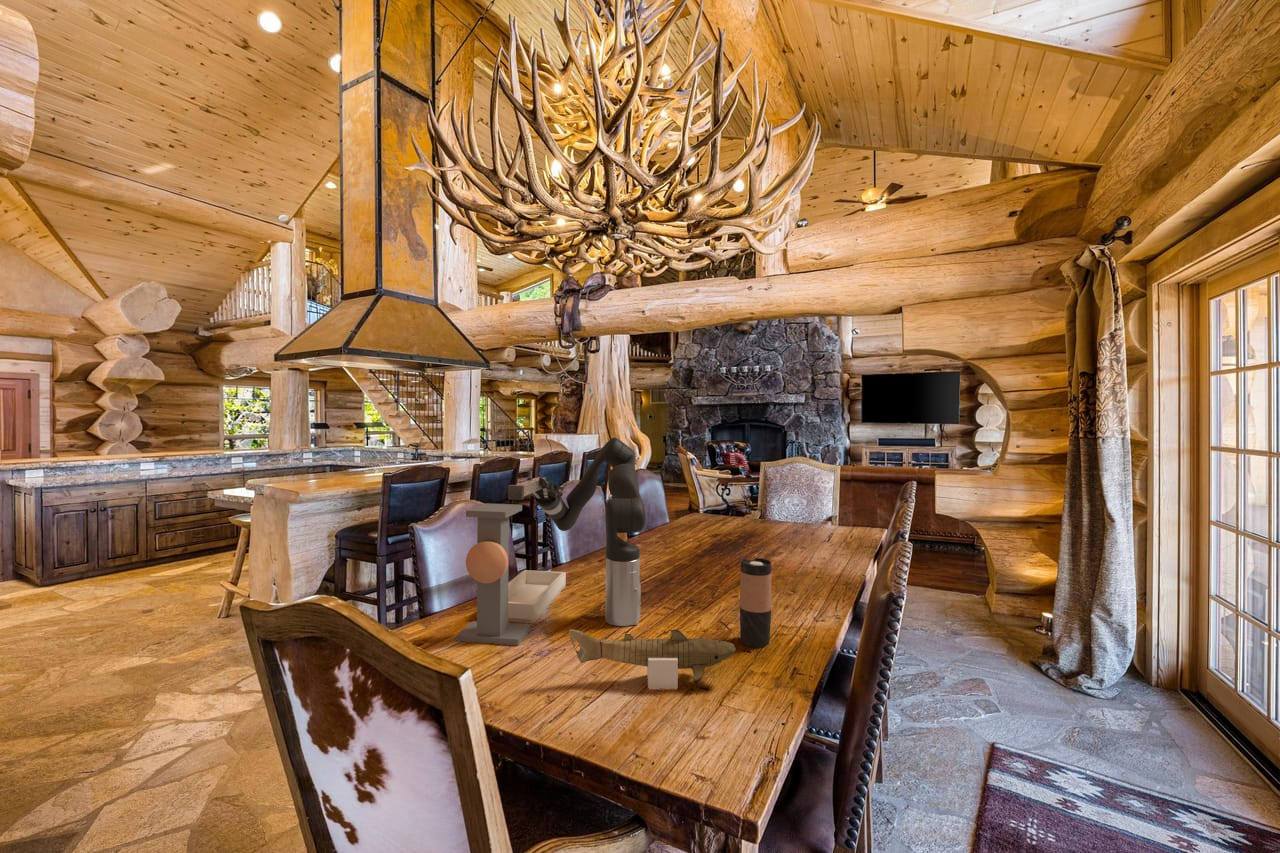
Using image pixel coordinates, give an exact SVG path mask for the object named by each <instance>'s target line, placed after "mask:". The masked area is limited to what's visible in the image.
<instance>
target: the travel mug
mask: <svg viewBox="0 0 1280 853" xmlns="http://www.w3.org/2000/svg"><path fill="white" fill-rule="evenodd" d="M739 578H740V580H739V582H740V584H739V585H740V586H739V589H740V591H739V624H740V625H739V627H740V628H739V632H740V633H739V636H740V637H739V640H740V642H741V644H743V645H745V646H747V647H750V648H756V647H760V648H765V646H766V647H768V646H769V645H770V642H771V640H770V639H771V625H772V624H771V620H772V562H771V561H770V560H768V559H766V558H761V557H756V558H754V559H748V558H746V557H745V558H742V559H741V560H740V577H739ZM767 645H768V646H767Z"/></svg>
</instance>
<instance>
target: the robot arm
mask: <svg viewBox="0 0 1280 853" xmlns="http://www.w3.org/2000/svg"><path fill="white" fill-rule="evenodd" d="M604 463H605V464H607V465H609V466H610V467H611V469H610V471H609V472H608V476H607V485H608V487H607V488H608V491H609V493H610V494H611V496H612V497H613V498H610V499H608V500H607V501H606V504H605V537H606V538H605V539H606V542H605V544H606V545H605V547H606V548H605V605H604V607H605V609H604V610H605V611H604V614H605V618H604V620H605V622H606V623H607V624H609V625H611V626H616V627H628V626H637V625H638V623H639V622H640V619H641V594H642V593H641V591H642V590H641V588H642V587H641V582H640V564H641V563H640V562H641V561H640V558H641V555H640V554H641V553H640V547H639V546H638V545H637V544H634V543H631V542H630V541H629V542H628V541H625V540H624V539H622V538H621V537H619V536H618V534H631V533H632V534H634V533H640V532H642V531H643V529H644V528H645V525H646V522H647V518H646V517H647V516H646V508H645V505H644V502H643V498H642V495H641V493H640V486H639V480H638V476H637V473H636V472H637V471H636V454H635V450H633V448H631V447H630V446H629V445H627V444H626V443H625V442H623V441H622V440H621V439H619V438H618V437H612V438H610V439H608V441H607V442H606V443H605V444H604V445H603V446H602V448H601V449H600V450H599V452H598V454H596V456H595V458H594V459H593V461H592V462H591V464H590V465H589V467H588V469H587V470H586V472H585V474H584V475H583V476H582V477H581V479H580V480H579V481H578V483H577V484H576V485H575V486H574V487H573V488H572V489H571V490H570V492H569V493H568V494H567V496H566V500H565V501H566V503H567V504H566V503H565V501H564V500H563V498H562V496H563V493H564V488H563V487H561V486H560V485H558V484H556V483H555V482H550V483H549V482H548V481H547V480H546V481H545V480H544V479H543V478H544V477H543V478H539V485H540V486H541V488H543V489H540V490H538V491H536V492H533V493H531V494H530V495H531V496H532V497H533V498H534V499H535V503H536V504H538V506H539V508H541V509H542V511H543V512H545V513H546V514H547V516H549V517H550V519H551V520H552V521H553V523H554V524H555V526H556V527H557V528H558V530H560V531H561V532H566V531H569V530H570V529H572V528H573V527H574V525H575V524H576V523H577V520H578V519H579V516H580V515H581V512H582V510H583V508H584V507H585V506H586V505H587V503H588V502H589V501H590V500H591V499H592V498H593V496H594V495H595V493H596V490H597V485H598V477H599V473H600V469H601V467H602V466H603V464H604ZM531 479H533V478H532V477H530V476H529V477H527V479H526V481H528V480H531Z"/></svg>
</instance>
